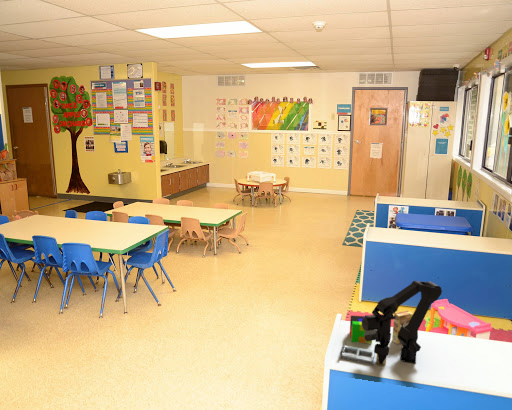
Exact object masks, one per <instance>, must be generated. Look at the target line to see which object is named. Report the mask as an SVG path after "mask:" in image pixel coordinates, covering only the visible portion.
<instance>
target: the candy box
mask: <svg viewBox="0 0 512 410" xmlns="http://www.w3.org/2000/svg"><path fill="white" fill-rule="evenodd" d="M412 315H413V313H412V312H411V311H409V310H405V311H400V312H395V313H394V314H393V316H394V317H395V318H396V319H393V322H392V323H393V325H392V326H393V327H392V335H391V341H392V342H393V343H395V344H397V345H398V344H401V343H400V341H399V340H398V332H399V331H400V328H401V327H402V326H403V327H405V326H407V325H408V323H409V321H410V319H411V317H412Z"/></svg>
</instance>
